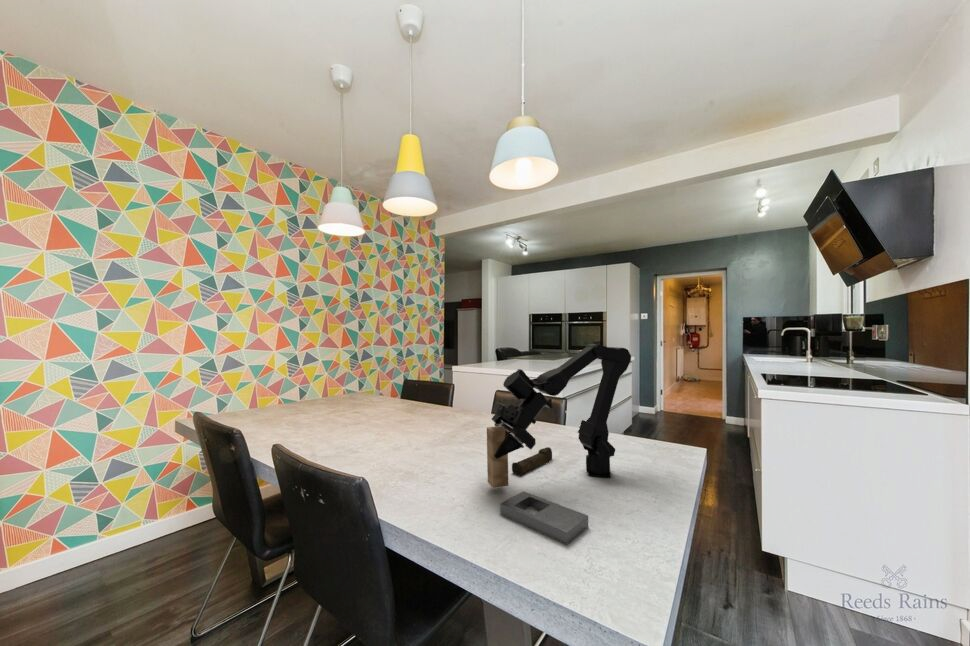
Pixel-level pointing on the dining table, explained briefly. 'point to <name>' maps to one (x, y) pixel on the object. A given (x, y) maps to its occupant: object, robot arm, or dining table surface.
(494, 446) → the walnut post
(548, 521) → the grey slotted base plate
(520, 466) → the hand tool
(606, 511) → the dining table surface
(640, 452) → the dining table surface
